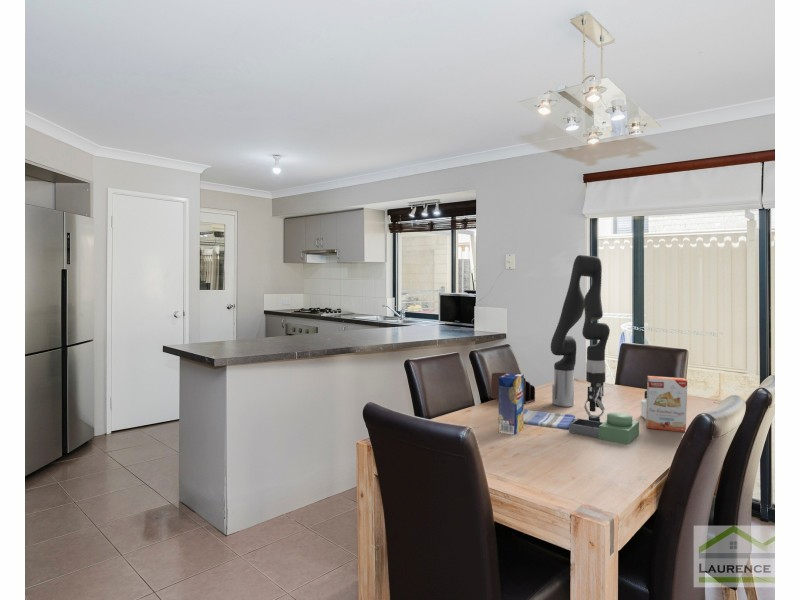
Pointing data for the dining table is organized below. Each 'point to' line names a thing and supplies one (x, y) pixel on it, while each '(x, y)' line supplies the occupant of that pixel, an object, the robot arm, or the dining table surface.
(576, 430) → the frame
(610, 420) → the green block with dome
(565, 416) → the dish towel
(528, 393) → the letter holder
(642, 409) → the medicine bottle
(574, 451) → the dining table surface
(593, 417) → the watch
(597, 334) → the robot arm
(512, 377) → the beverage box
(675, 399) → the cracker box
